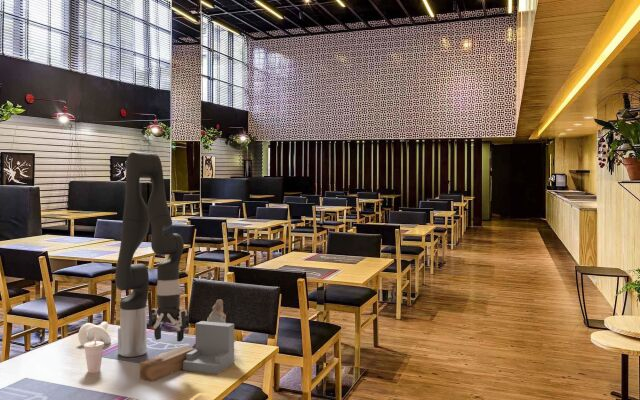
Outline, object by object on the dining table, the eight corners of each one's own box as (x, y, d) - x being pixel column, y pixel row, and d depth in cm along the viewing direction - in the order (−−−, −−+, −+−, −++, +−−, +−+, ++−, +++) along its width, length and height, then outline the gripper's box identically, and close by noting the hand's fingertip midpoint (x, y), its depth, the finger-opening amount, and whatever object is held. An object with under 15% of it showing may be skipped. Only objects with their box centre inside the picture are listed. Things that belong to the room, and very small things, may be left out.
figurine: (218, 348, 199) (221, 303, 193) (198, 343, 201) (201, 298, 195) (226, 336, 208) (230, 293, 201) (207, 331, 209) (210, 288, 203)
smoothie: (108, 370, 172) (108, 329, 172) (94, 376, 166) (94, 334, 166) (93, 368, 174) (93, 327, 174) (79, 374, 168) (79, 332, 168)
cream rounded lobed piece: (119, 344, 202) (119, 321, 202) (95, 352, 192) (95, 329, 191) (99, 340, 207) (99, 318, 207) (74, 348, 196) (74, 325, 196)
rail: (139, 379, 164) (139, 362, 164) (182, 361, 182) (182, 346, 182) (152, 382, 162) (152, 365, 162) (194, 364, 179) (194, 348, 179)
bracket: (183, 370, 172) (182, 329, 172) (201, 359, 184) (201, 320, 184) (217, 374, 168) (217, 332, 168) (234, 362, 180) (234, 323, 180)
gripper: (143, 293, 170) (144, 341, 170) (180, 295, 166) (181, 344, 166) (157, 289, 177) (157, 335, 177) (192, 291, 173) (193, 338, 173)
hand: (169, 340), depth 171 cm, fingers open, 8 cm apart
